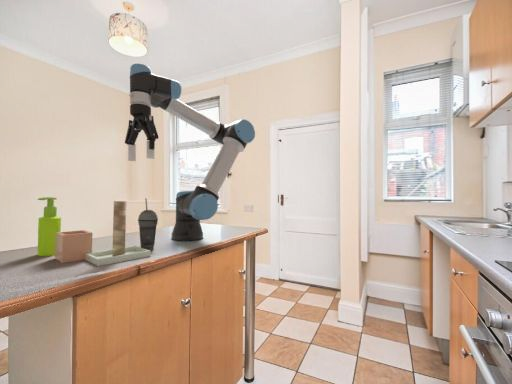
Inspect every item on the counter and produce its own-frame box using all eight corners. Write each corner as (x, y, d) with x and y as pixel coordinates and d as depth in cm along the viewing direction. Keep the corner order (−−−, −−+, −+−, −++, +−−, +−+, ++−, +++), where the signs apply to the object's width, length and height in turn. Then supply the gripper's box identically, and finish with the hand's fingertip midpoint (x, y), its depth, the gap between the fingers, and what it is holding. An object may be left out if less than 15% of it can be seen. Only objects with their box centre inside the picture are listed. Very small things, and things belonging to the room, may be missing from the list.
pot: (83, 256, 85) (84, 230, 86) (91, 260, 81) (92, 232, 81) (54, 260, 79) (55, 232, 79) (61, 265, 74) (62, 235, 75)
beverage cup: (149, 252, 94) (151, 198, 94) (132, 250, 95) (134, 198, 95) (161, 248, 101) (162, 198, 101) (144, 247, 102) (146, 198, 103)
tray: (135, 253, 92) (135, 245, 92) (150, 258, 85) (150, 250, 85) (84, 261, 79) (84, 253, 79) (97, 268, 72) (97, 259, 72)
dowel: (121, 254, 85) (123, 201, 85) (126, 256, 82) (128, 201, 83) (110, 256, 82) (111, 201, 82) (115, 258, 80) (116, 201, 80)
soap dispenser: (29, 259, 81) (31, 197, 81) (47, 254, 88) (49, 197, 88) (47, 259, 81) (49, 197, 81) (64, 254, 88) (65, 197, 88)
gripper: (115, 109, 103) (115, 161, 103) (149, 95, 88) (149, 156, 89) (133, 113, 109) (133, 162, 109) (168, 102, 95) (168, 158, 95)
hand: (140, 159), depth 99 cm, fingers open, 13 cm apart
